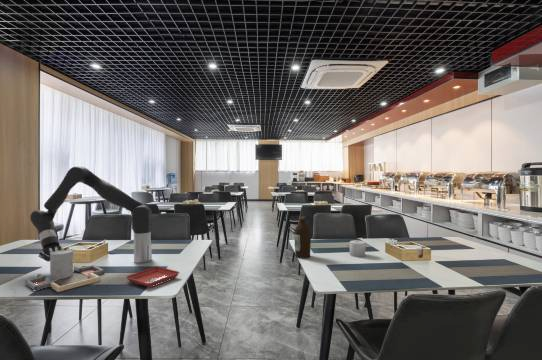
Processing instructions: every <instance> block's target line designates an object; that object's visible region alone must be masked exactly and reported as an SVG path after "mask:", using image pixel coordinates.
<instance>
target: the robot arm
mask: <svg viewBox="0 0 542 360" xmlns="http://www.w3.org/2000/svg"><path fill="white" fill-rule="evenodd" d="M78 183H82V184H84V185H86V186H88V187H89V188H91V189H93V190H94V191H95V192H96V193H97V194H98V196H99V197H101V198H102V199H103V200H105V201H106V202H108V203H109V204H112V205H114V206H117V207H120V208H123V209H126V210H127V211H128V212H130V213H132V215H131V221H132V222H131V223H132V229H133V262H134V263H137V264H138V263H139V264H141V263H142V264H143V263H147V262H150V261H151V260H152V259H153V257H152V255H153V254H152V252H153V251H152V250H153V249H152V248H153V247H152V245H153V244H152V243H151V230H152V229H151V226H150V218H151V216H152V214H153V211H152V209H151V208H150V206H148V205H147V204H144V203H142V202H139V201H138V200H136V199H134V198H133V197H131V196H130V195H129V194H127V193H125V192H124V191H122V190H121V189H120V188H118V187H116V186H114V185H113V184H111V183H109V182H107V181H106V180H104V179H102V178H101V177H99V176H97V175H96V174H95V173H94V172H92V171H91V170H90V169H89V168H87V167H85V166H72V167H71V168H69V169H68V170H67V172H66V174H65V176H64V177H63V180H62V181H61V182H60V184H59V185H58V187H57V188H56V189H55V191H54V192H53V193H52V194H51V196H49V197H48V199H47V200H46V201H45V203H44V205H43V207H44V208H45V209H46V210H47V211H44V210H42V209H41V210H40V209H36V210H33V211H32V212H31V214H30V216H29V217H30V222H31V224H32V225H33V226H34V227H35V228H36V230H37V233H38V236H39V242H40V246H41V249H42V250H41V251H40V252H39V254H38V257H39V258H40V259H42V260H43V261H46V262H49V263H50V253H51V252H54V251H59V250H68V249H67V248H66V247H65V248H63V247H62V246H61V245H60V241H59V239H58V235H57V233H56V231H55V228H54V226H53V224H52V221H53V220H54V218H55V216H56V213H57V212H58V210H59V208H60V207H61V206H62V205H63V204H64V203H65V201H66V199H67V198H68V195H69V193H70V192H71V190H72V189H73V188H74V187H75V186H76V185H77V184H78Z"/></svg>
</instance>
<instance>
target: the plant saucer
mask: <svg viewBox="0 0 542 360" xmlns="http://www.w3.org/2000/svg"><path fill="white" fill-rule="evenodd" d="M179 274H180V271H177V270H173V269H169V268H166V267H161V266H154V267H151V268H147V269H145V270H141V271H138V272H135V273H132V274H129V275H126V276H125V278H126V279H127V280H128V281H130V283H133V282H134V284H136V283H137V284H136V285H139V284H141V285H140V286H142V285H144V286H143V287H145V286H147V287H146V288H148V287H150V286H153V285H156V284H158V283H161V282H164V281H167V280H169V279H172V278H174V279H176V278H177V276H178V275H179ZM164 275H165V276H167V277H165V278H162V279H160V280H157V281H154V282H152V283H145V282H147V281H149V282H150V280H151V279H152V278H153V279H154V278H159V277H162V276H164ZM172 280H173V279H172ZM169 281H170V280H169ZM167 282H168V281H167ZM164 283H165V282H164ZM161 284H162V283H161ZM156 286H157V285H156ZM153 287H154V286H153ZM150 288H151V287H150Z"/></svg>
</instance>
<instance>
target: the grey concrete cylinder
mask: <svg viewBox="0 0 542 360" xmlns="http://www.w3.org/2000/svg"><path fill="white" fill-rule="evenodd" d="M73 253H74V250H73V249H67V250H59V251H54V252H51V253H50V261H49V263H50V264H49V266H50V269H49V273H50V275H49V276H50V277H49V278H50V279H51V280H61V279H62V280H63V279H66V278H69V277H72V276H73V275H74V261H73V260H74V255H73Z"/></svg>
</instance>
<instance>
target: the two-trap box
mask: <svg viewBox="0 0 542 360" xmlns="http://www.w3.org/2000/svg"><path fill="white" fill-rule="evenodd" d="M73 271H75V272H77V273H81V274H83V275H84V276H86V277H88V278H87V279H82V280H77V281H75V282H71V283H67V284H62V285H59V284H57V283H55V282H54V281H50V282H47V281H46V276H45V275H43V274H41V273H37V274H36V277H34V278H29V279H25V284H26V286H27V285H28V286H29V287H31V288H32V289H33V290H37V291H39V290H38V289H41V290H44V289H43V288H45V289H48V288H47V287H49V288H51V287H52V288H51V289H53V290H54V291H56V293H59V292H64V291H67V290H72V289H74V288H78V287H82V286H86V285H90V284H93V283H97V282H100V281H101V276H100V275H104V274H105V269H104V268H101V267H98V266H96V265H94V264H93V265H88V266H84V267H83V266H82V267H80V266H78V265H73ZM36 282H37V283H36ZM34 283H35V284H38V285H35V284H34ZM28 286H27V287H28ZM29 287H28V288H29ZM31 288H30V289H31ZM32 289H31V290H32ZM33 290H32V291H33Z"/></svg>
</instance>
